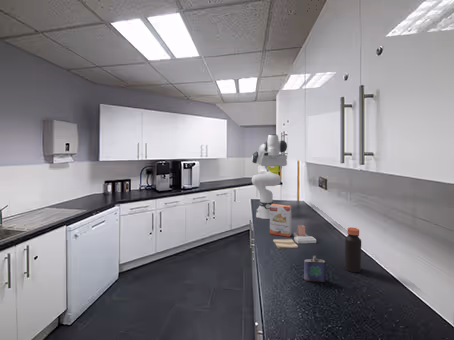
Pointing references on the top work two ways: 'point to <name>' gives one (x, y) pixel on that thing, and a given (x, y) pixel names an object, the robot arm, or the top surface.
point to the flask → (314, 269)
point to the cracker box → (280, 220)
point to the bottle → (353, 250)
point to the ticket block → (300, 230)
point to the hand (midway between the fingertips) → (273, 171)
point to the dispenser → (304, 239)
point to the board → (285, 243)
